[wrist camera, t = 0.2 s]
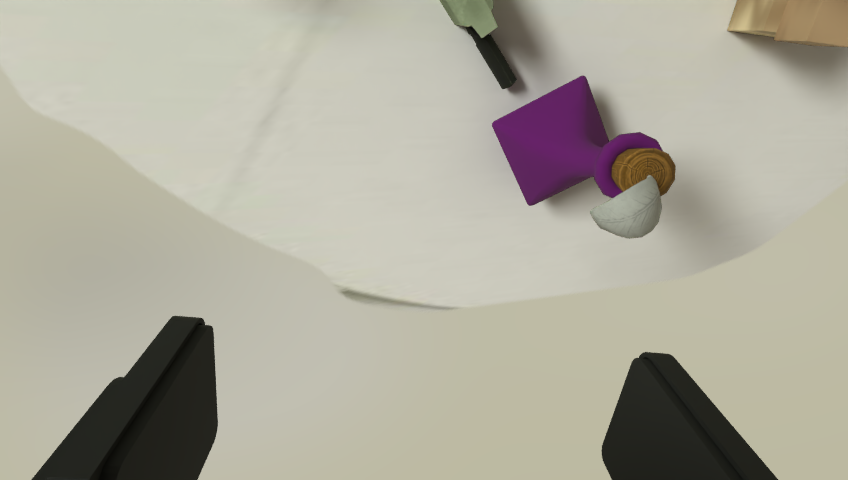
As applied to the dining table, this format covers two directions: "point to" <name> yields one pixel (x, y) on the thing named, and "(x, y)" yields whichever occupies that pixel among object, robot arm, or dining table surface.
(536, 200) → the purple potion bottle
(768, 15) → the bar rest
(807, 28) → the walnut bar
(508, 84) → the handheld radio
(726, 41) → the dining table surface
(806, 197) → the dining table surface
